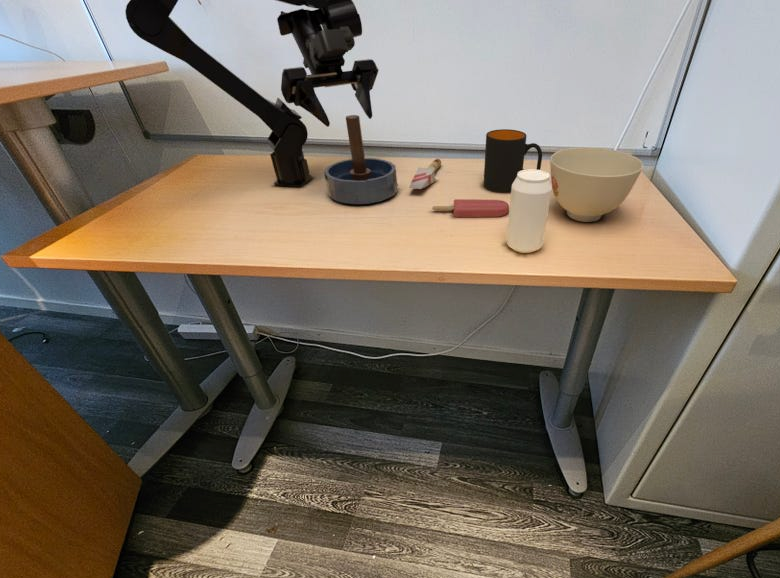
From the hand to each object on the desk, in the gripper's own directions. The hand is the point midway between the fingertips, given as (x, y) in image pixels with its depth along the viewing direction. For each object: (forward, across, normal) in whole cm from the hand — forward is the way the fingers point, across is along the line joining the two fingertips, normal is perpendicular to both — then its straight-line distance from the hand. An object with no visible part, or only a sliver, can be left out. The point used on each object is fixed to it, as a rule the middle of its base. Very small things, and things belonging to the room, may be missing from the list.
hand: (350, 121), depth 81 cm
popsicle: (+26, +12, -6) cm, 29 cm away
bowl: (+36, +28, -17) cm, 49 cm away
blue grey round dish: (+10, 0, +9) cm, 14 cm away
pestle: (+10, 0, +8) cm, 13 cm away
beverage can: (+38, +10, -18) cm, 43 cm away
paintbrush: (+12, +15, +8) cm, 21 cm away
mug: (+22, +28, -3) cm, 36 cm away
